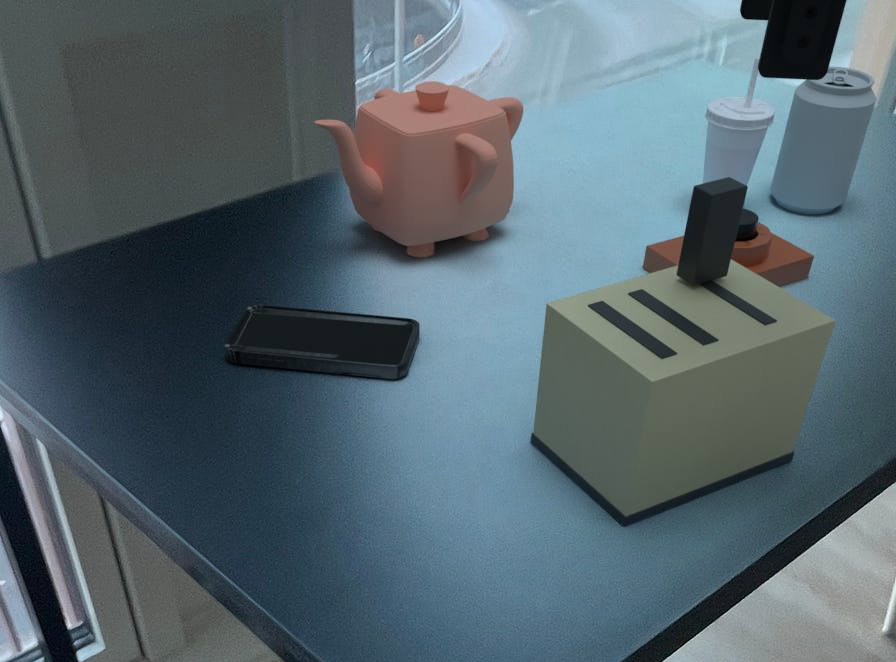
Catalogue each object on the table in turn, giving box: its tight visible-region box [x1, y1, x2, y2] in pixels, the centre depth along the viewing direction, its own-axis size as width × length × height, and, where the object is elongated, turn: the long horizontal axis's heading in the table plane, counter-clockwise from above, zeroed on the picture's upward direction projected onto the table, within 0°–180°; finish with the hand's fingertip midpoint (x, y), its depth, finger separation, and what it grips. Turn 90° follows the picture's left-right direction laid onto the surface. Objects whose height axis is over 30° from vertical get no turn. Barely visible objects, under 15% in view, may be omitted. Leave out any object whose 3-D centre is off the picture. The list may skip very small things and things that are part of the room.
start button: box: [735, 208, 759, 242], centre depth 90 cm, size 4×4×2 cm
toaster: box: [530, 259, 837, 527], centre depth 69 cm, size 15×11×11 cm
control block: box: [642, 221, 815, 288], centre depth 91 cm, size 12×9×4 cm
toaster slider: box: [676, 177, 748, 286], centre depth 66 cm, size 3×2×6 cm, turn 120°
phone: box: [224, 304, 421, 380], centre depth 83 cm, size 8×1×15 cm
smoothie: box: [702, 56, 776, 186], centre depth 97 cm, size 6×6×14 cm
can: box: [770, 66, 877, 215], centre depth 99 cm, size 8×8×12 cm
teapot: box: [314, 80, 524, 258], centre depth 94 cm, size 17×16×13 cm
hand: (778, 45), depth 52 cm, fingers open, 9 cm apart
